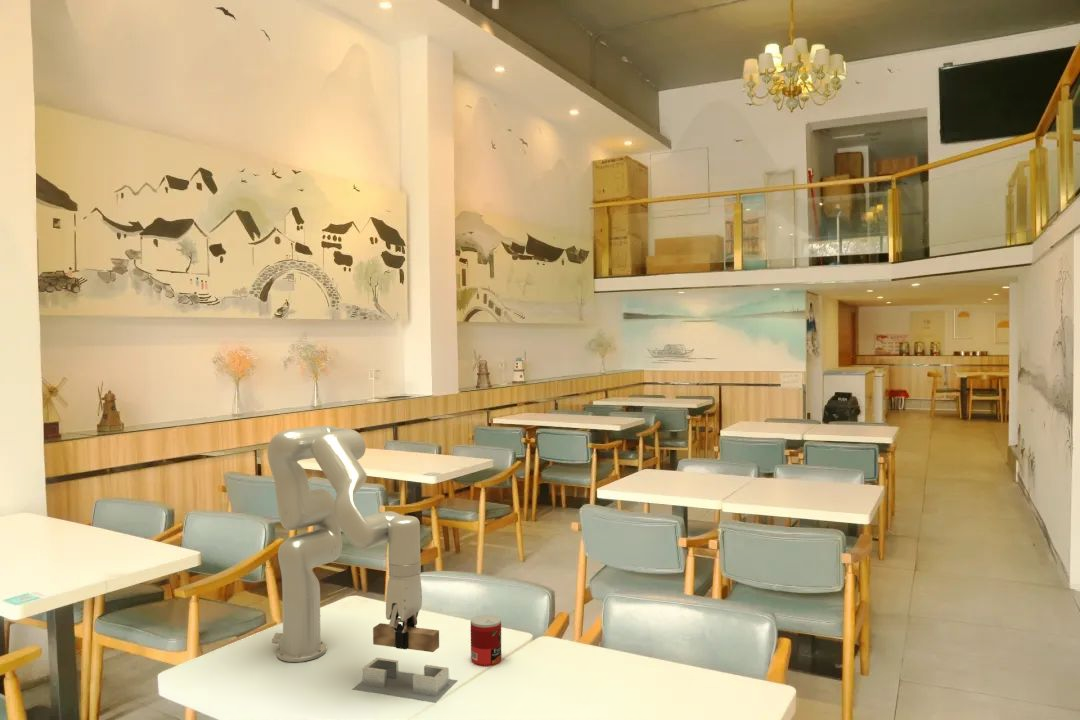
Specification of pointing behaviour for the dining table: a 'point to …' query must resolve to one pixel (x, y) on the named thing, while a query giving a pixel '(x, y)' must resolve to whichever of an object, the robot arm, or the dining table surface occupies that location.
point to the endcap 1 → (379, 672)
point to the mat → (403, 688)
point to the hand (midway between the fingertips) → (406, 644)
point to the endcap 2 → (431, 680)
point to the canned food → (486, 640)
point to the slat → (416, 637)
